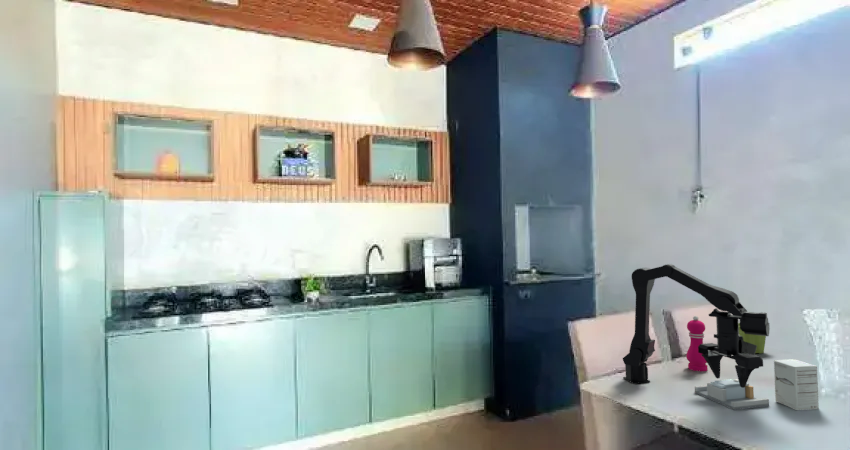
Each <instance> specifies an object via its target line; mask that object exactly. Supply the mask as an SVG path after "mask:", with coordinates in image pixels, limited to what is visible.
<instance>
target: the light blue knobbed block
mask: <svg viewBox="0 0 850 450" xmlns="http://www.w3.org/2000/svg"><path fill="white" fill-rule="evenodd" d="M710 383H711V385H714V386H716V387H719V388H724V389H726V399H727V400H729V399H738V398H746V397H745V387H744V388H742V387H741V386H740V384H739V380H738V378H732V379H730V378H729V379H722V380H721V379H720V380H714V381H710ZM749 385H750V383H748V382H747V383H746V386H749Z"/></svg>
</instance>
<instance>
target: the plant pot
mask: <svg viewBox="0 0 850 450" xmlns="http://www.w3.org/2000/svg"><path fill="white" fill-rule="evenodd" d="M738 324H739V336H742V337H743V341H745V342H748V343H751V344H754V345H757V348H756V352H755V354H764V353H765V346H766V339H767V336H760V335H751V334H745V333H744V332H743V331H742V330H741V329H740V322H738Z"/></svg>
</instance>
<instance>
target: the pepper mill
mask: <svg viewBox="0 0 850 450" xmlns="http://www.w3.org/2000/svg"><path fill="white" fill-rule="evenodd" d="M686 329H687V330H688V331H689V332H688V336H689V337H688V338H689V339H690V344H689V346H688V349H687V351H686V355H685V356H686V360H687V361H688V363H687V366H688V369H689V370H691V371H692V372H693V371H694V372H707V371H708V363H707V362H706V360H705V359H704V357H703V356H702V355H701V353H698V347H699V345H700V344H704V338H705V334H704V332H705V331H706V324H705V323H704V322H703V321H702V320H699V317H698V316H697V315H693V317H692V320H689V321H688V322H687V324H686Z"/></svg>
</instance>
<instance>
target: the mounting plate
mask: <svg viewBox="0 0 850 450" xmlns="http://www.w3.org/2000/svg"><path fill="white" fill-rule="evenodd" d="M694 393H695V394H697V395H698V396H701V397H704V398H706V399H709V400H711V401H713V402H715V403H717V404H719V403H720V405H722V406H724V407H727V408H728V409H731V410H733V411H737V410H744V409H756V408H763V407H764V408H767V407H770V399H769V398H767V397H764V398H756V397H754V386H752V385H750V384H749V386H745V397H746V398H738V399H729V400H727V399H726V389H724V388H719V387H716V386H714V385H711V383H706V385H697V386H694Z"/></svg>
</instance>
